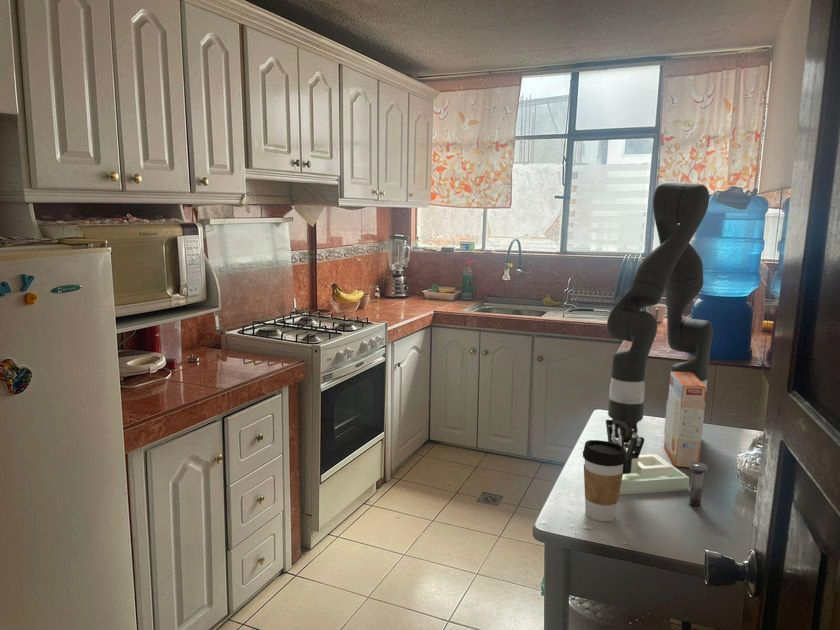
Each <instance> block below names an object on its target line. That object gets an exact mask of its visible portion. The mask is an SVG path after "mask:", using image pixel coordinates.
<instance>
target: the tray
mask: <svg viewBox="0 0 840 630" xmlns="http://www.w3.org/2000/svg"><path fill="white" fill-rule="evenodd" d="M658 456H659V457H660V458H661V459H663V460H664V461H666V462H667V463H668V464H670V465H671V466H673V473H672V475H667V476H651V477H641V476H640V475H639V474H637V473H635V474H623V476H622V482H621V487H620V493H619V496H623V495H638V494H649V493H650V494H651V493H664V492H665V493H666V492H681V491H688V490H689V483H690V477H689V476H688V475H687V474H685V473H684V472H682V471H681V470H679V469H678V467H677V468H676V466H674V464H673V465H672V464H671V463H669V462H668V461H667V460H665V459H664V458H663V457H661V456H660V455H658ZM644 466H652V465H644Z"/></svg>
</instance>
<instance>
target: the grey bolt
mask: <svg viewBox="0 0 840 630" xmlns="http://www.w3.org/2000/svg"><path fill="white" fill-rule="evenodd" d="M689 469H690V470H691V471H692V472H691V482H690V493H689V504H688V505H689V506H691V507H692V508H701V505H702V494H703V483H704V475H705V473H707V469H708V466H707V464H705V463H703V462H700V461H699V462H692V463H690V468H689Z"/></svg>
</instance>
